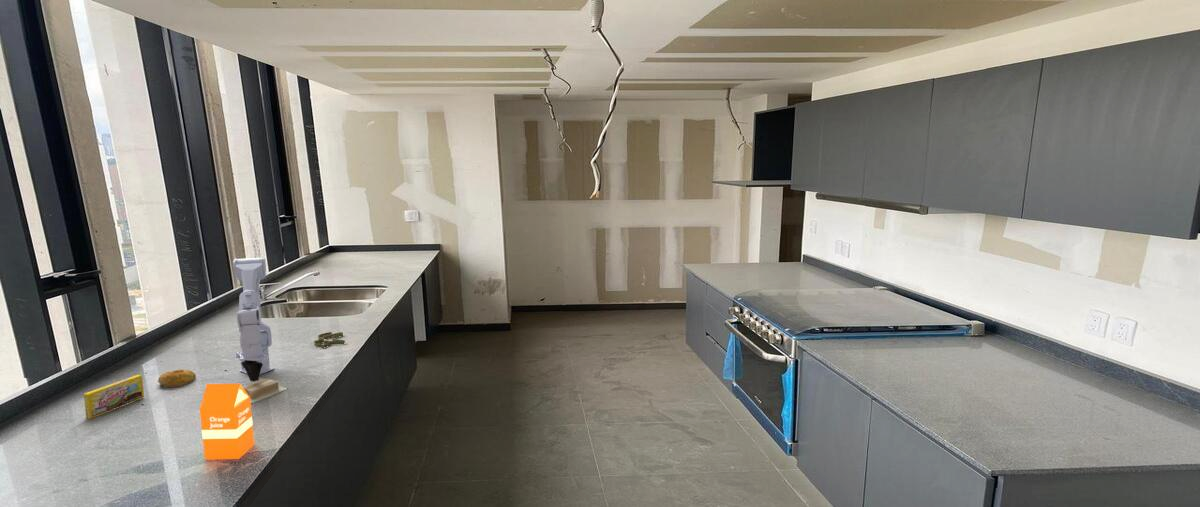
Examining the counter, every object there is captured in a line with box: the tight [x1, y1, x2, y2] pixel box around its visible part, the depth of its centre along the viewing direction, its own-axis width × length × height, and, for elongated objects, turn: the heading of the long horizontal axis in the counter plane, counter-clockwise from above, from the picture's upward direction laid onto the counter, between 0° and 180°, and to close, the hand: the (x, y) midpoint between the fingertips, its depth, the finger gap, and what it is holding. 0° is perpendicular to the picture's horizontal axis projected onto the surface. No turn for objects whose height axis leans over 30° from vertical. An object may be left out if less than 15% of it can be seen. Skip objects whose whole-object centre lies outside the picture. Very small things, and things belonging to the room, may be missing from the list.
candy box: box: [83, 374, 145, 419], centre depth 171 cm, size 16×2×8 cm, turn 168°
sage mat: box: [250, 385, 288, 405], centre depth 184 cm, size 8×13×1 cm, turn 156°
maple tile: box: [241, 377, 279, 400], centre depth 184 cm, size 3×9×7 cm
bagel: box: [157, 368, 197, 388], centre depth 192 cm, size 10×11×5 cm
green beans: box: [313, 331, 346, 349], centre depth 239 cm, size 18×12×2 cm, turn 28°
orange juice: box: [199, 383, 255, 460], centre depth 146 cm, size 8×9×20 cm
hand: (254, 380), depth 184 cm, fingers closed
